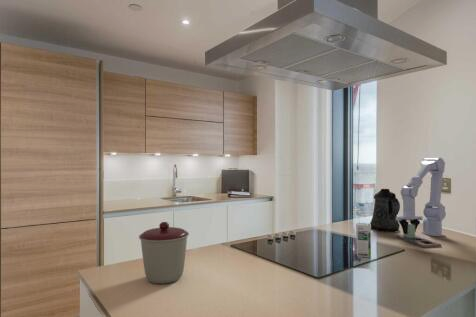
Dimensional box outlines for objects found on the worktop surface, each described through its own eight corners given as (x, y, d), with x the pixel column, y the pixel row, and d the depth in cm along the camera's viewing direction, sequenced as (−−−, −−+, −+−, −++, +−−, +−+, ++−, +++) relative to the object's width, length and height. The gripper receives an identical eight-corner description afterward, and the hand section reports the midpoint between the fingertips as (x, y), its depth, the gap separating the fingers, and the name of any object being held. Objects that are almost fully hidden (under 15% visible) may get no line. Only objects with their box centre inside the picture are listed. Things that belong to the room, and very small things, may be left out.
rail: (396, 237, 177) (396, 234, 177) (412, 236, 178) (412, 234, 178) (423, 247, 156) (423, 244, 156) (441, 246, 157) (441, 244, 157)
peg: (403, 238, 175) (403, 223, 175) (410, 237, 176) (410, 223, 176) (408, 239, 171) (408, 225, 171) (415, 239, 172) (415, 224, 172)
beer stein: (378, 225, 208) (377, 187, 208) (409, 230, 193) (409, 189, 193) (365, 229, 197) (364, 189, 197) (397, 234, 182) (396, 191, 182)
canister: (137, 273, 123) (137, 219, 123) (184, 267, 130) (183, 216, 130) (140, 292, 106) (140, 229, 106) (194, 284, 113) (193, 224, 113)
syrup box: (357, 256, 142) (356, 224, 142) (356, 253, 148) (356, 222, 148) (370, 258, 141) (370, 225, 141) (369, 254, 146) (369, 222, 146)
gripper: (401, 210, 168) (401, 235, 168) (426, 209, 170) (426, 234, 170) (393, 208, 175) (393, 232, 175) (417, 207, 177) (417, 231, 177)
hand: (409, 233), depth 173 cm, fingers open, 4 cm apart
